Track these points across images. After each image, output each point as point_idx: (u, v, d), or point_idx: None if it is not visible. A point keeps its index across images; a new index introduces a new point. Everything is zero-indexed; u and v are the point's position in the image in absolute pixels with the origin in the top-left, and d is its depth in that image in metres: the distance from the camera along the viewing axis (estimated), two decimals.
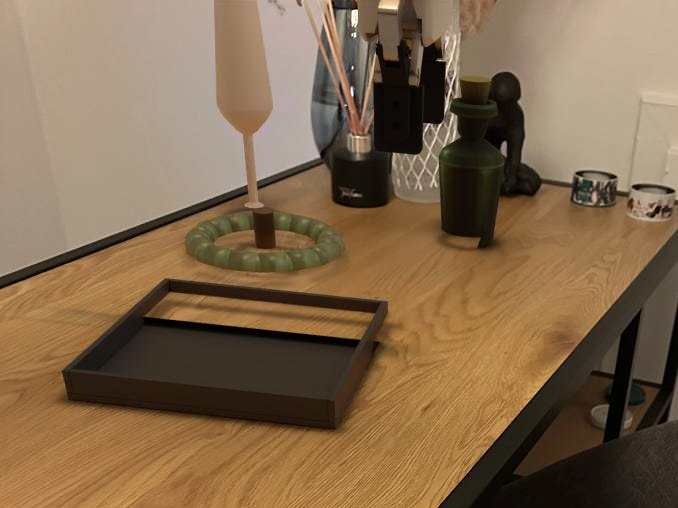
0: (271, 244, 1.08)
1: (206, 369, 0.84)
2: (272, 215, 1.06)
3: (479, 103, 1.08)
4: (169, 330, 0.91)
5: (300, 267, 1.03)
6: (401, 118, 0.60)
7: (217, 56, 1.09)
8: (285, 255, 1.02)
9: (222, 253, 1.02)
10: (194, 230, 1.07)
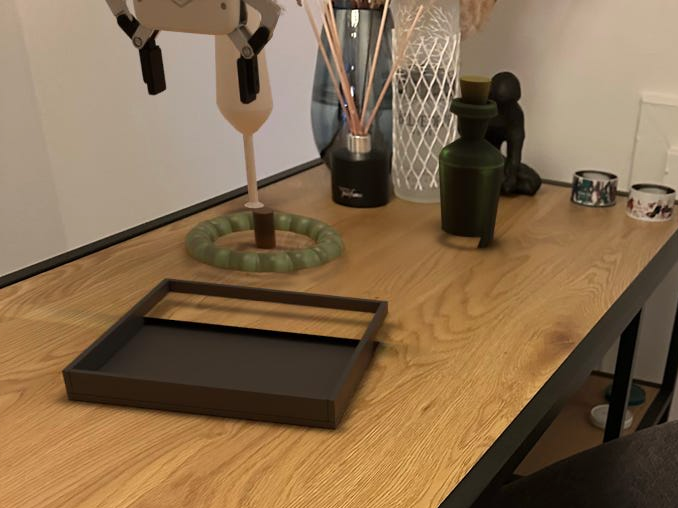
0: (271, 244, 1.08)
1: (206, 369, 0.84)
2: (272, 215, 1.06)
3: (479, 103, 1.08)
4: (169, 330, 0.91)
5: (300, 267, 1.03)
6: (257, 77, 0.95)
7: (217, 56, 1.09)
8: (285, 255, 1.02)
9: (222, 253, 1.02)
10: (194, 230, 1.07)
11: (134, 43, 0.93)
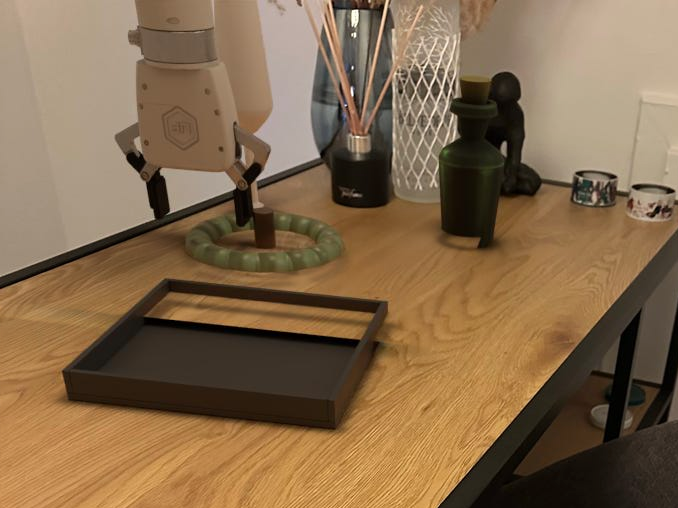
0: (271, 244, 1.08)
1: (206, 369, 0.84)
2: (272, 215, 1.06)
3: (479, 103, 1.08)
4: (169, 330, 0.91)
5: (300, 267, 1.03)
6: (251, 203, 1.07)
7: None
8: (285, 255, 1.02)
9: (222, 253, 1.02)
10: (194, 230, 1.07)
11: (142, 177, 1.05)
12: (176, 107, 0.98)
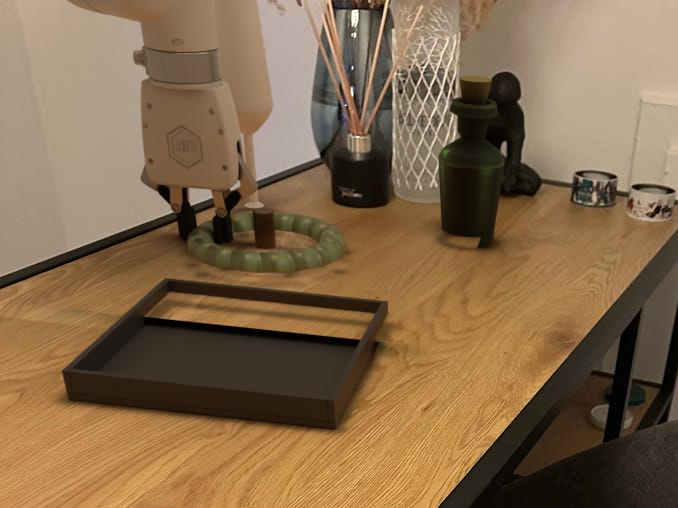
0: (271, 244, 1.08)
1: (206, 369, 0.84)
2: (272, 215, 1.06)
3: (479, 103, 1.08)
4: (169, 330, 0.91)
5: (302, 266, 1.03)
6: (230, 229, 1.09)
7: None
8: (286, 254, 1.02)
9: (224, 253, 1.02)
10: (196, 230, 1.07)
11: (174, 210, 1.07)
12: (181, 127, 0.99)
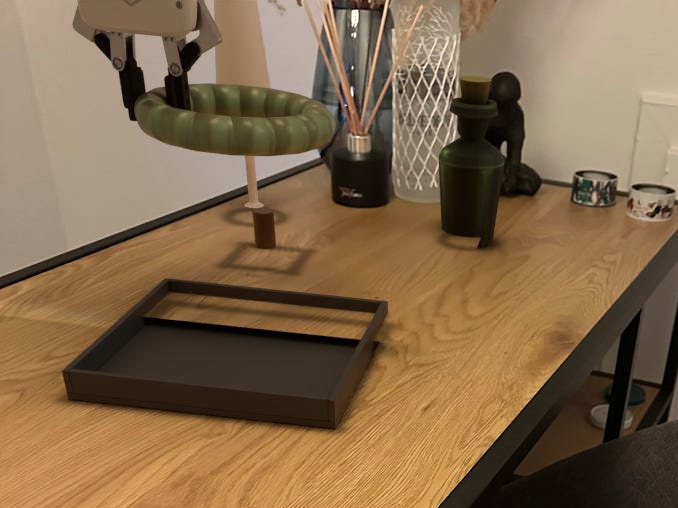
0: (271, 244, 1.08)
1: (206, 369, 0.84)
2: (272, 215, 1.06)
3: (479, 103, 1.08)
4: (169, 330, 0.91)
5: (284, 137, 0.82)
6: (187, 96, 0.87)
7: (217, 56, 1.09)
8: (265, 120, 0.81)
9: (184, 115, 0.80)
10: (146, 94, 0.85)
11: (116, 67, 0.85)
12: None
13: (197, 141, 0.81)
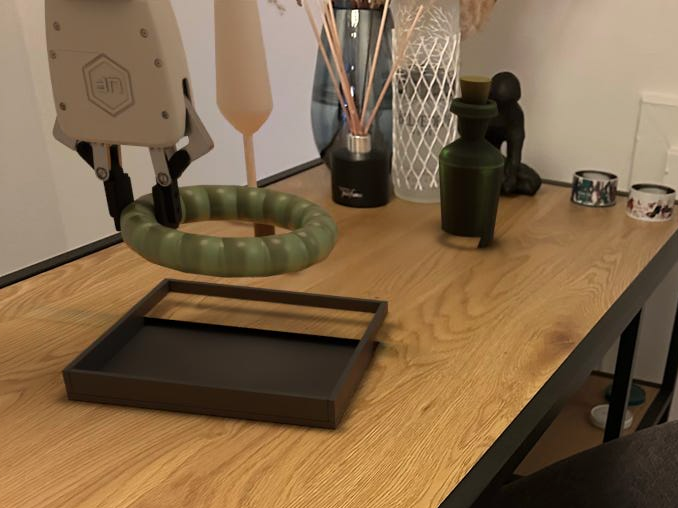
0: None
1: (206, 369, 0.84)
2: None
3: (479, 103, 1.08)
4: (169, 330, 0.91)
5: (280, 258, 0.75)
6: (178, 204, 0.80)
7: (217, 56, 1.09)
8: (260, 241, 0.74)
9: (172, 237, 0.74)
10: (133, 205, 0.78)
11: (100, 177, 0.78)
12: (102, 56, 0.71)
13: (185, 264, 0.74)
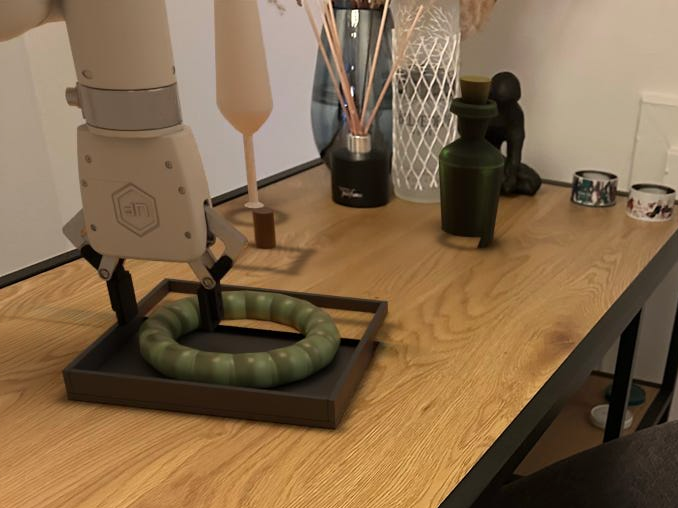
0: (271, 244, 1.08)
1: None
2: (272, 215, 1.06)
3: (479, 103, 1.08)
4: None
5: (286, 371, 0.81)
6: (221, 302, 0.85)
7: (217, 56, 1.09)
8: (267, 357, 0.80)
9: (186, 356, 0.80)
10: (150, 322, 0.84)
11: (101, 276, 0.83)
12: (130, 185, 0.77)
13: (199, 381, 0.80)
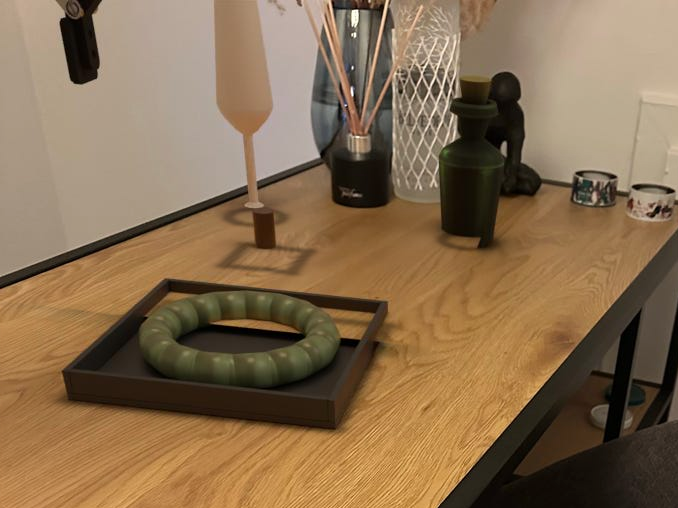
0: (271, 244, 1.08)
1: None
2: (272, 215, 1.06)
3: (479, 103, 1.08)
4: None
5: (286, 371, 0.81)
6: (94, 46, 0.67)
7: (217, 56, 1.09)
8: (267, 357, 0.80)
9: (186, 356, 0.80)
10: (150, 322, 0.84)
11: None
12: None
13: (199, 381, 0.80)
